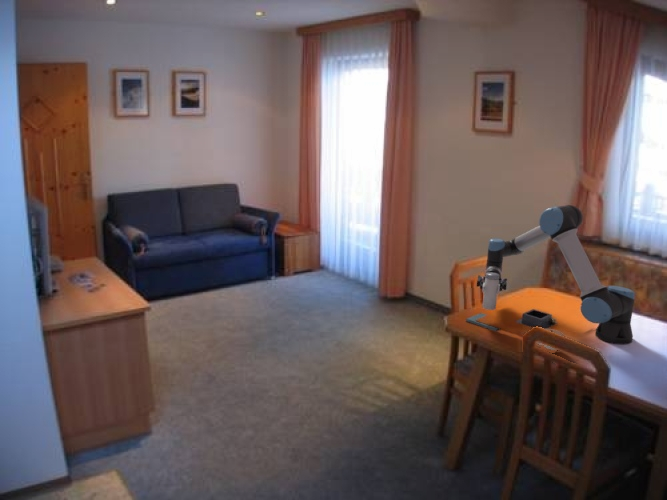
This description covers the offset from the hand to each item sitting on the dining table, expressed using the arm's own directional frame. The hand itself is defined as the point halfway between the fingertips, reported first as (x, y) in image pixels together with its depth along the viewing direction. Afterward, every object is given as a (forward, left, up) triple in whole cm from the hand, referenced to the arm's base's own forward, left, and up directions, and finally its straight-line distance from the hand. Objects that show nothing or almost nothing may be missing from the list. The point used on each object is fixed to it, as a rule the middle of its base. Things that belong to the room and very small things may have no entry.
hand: (490, 290), depth 286 cm
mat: (+2, -4, -17) cm, 18 cm away
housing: (-14, -19, -17) cm, 29 cm away
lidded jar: (-32, +3, -18) cm, 36 cm away
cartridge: (+3, -5, -10) cm, 11 cm away
